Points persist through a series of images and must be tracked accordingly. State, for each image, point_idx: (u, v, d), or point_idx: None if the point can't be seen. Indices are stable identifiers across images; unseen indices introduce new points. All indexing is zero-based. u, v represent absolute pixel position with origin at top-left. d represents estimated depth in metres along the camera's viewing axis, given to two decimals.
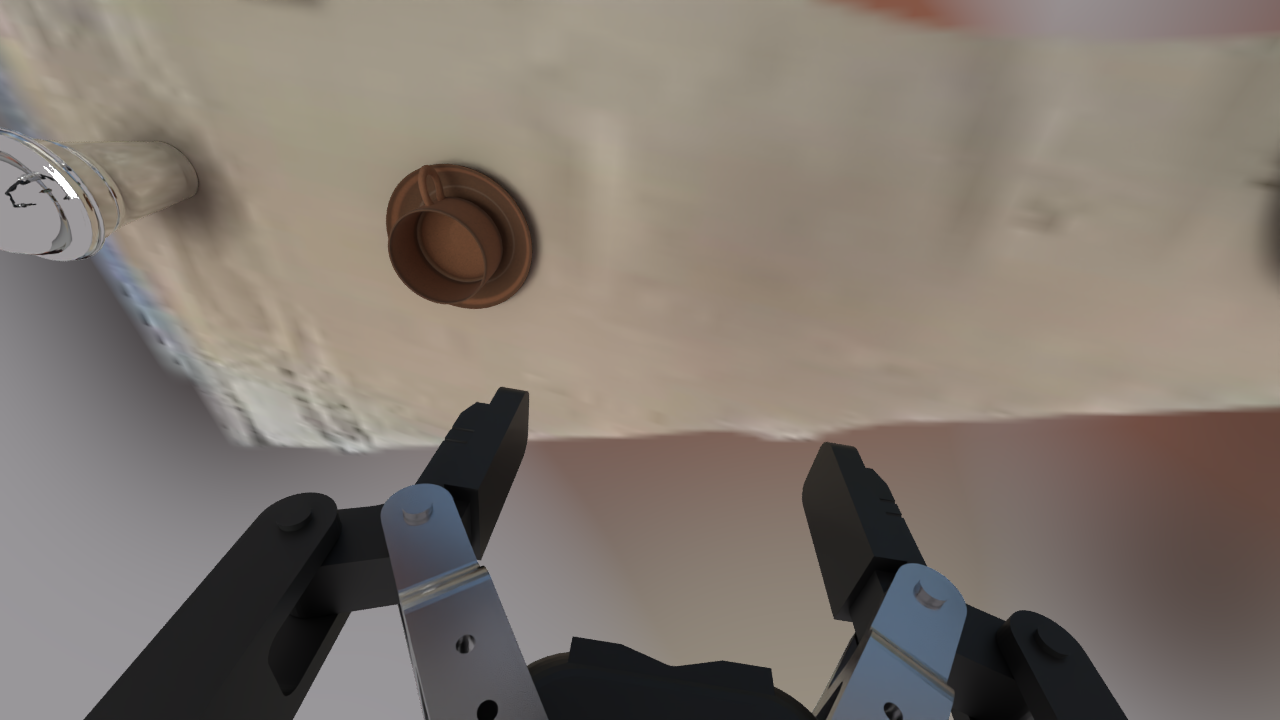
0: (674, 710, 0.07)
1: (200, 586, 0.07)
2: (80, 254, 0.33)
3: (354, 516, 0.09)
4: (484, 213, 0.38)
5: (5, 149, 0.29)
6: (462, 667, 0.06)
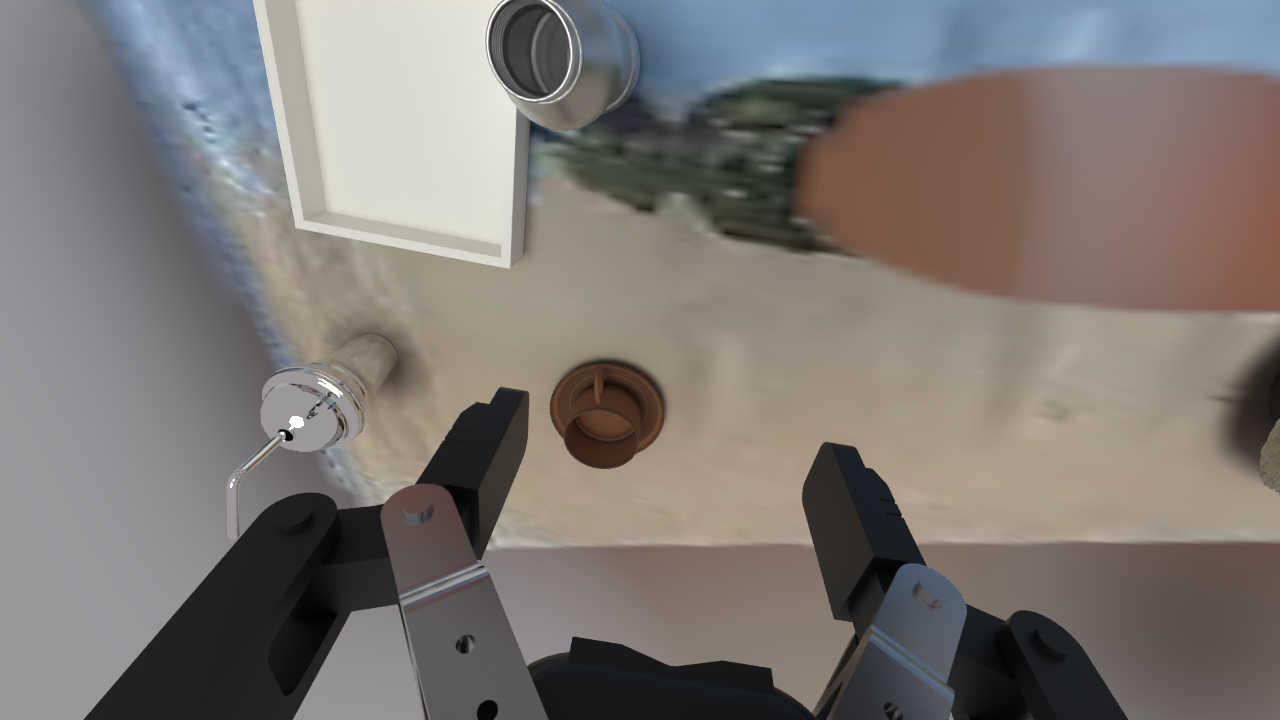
0: (674, 710, 0.07)
1: (200, 586, 0.07)
2: (342, 445, 0.44)
3: (354, 517, 0.09)
4: (631, 398, 0.49)
5: (314, 385, 0.40)
6: (462, 667, 0.06)
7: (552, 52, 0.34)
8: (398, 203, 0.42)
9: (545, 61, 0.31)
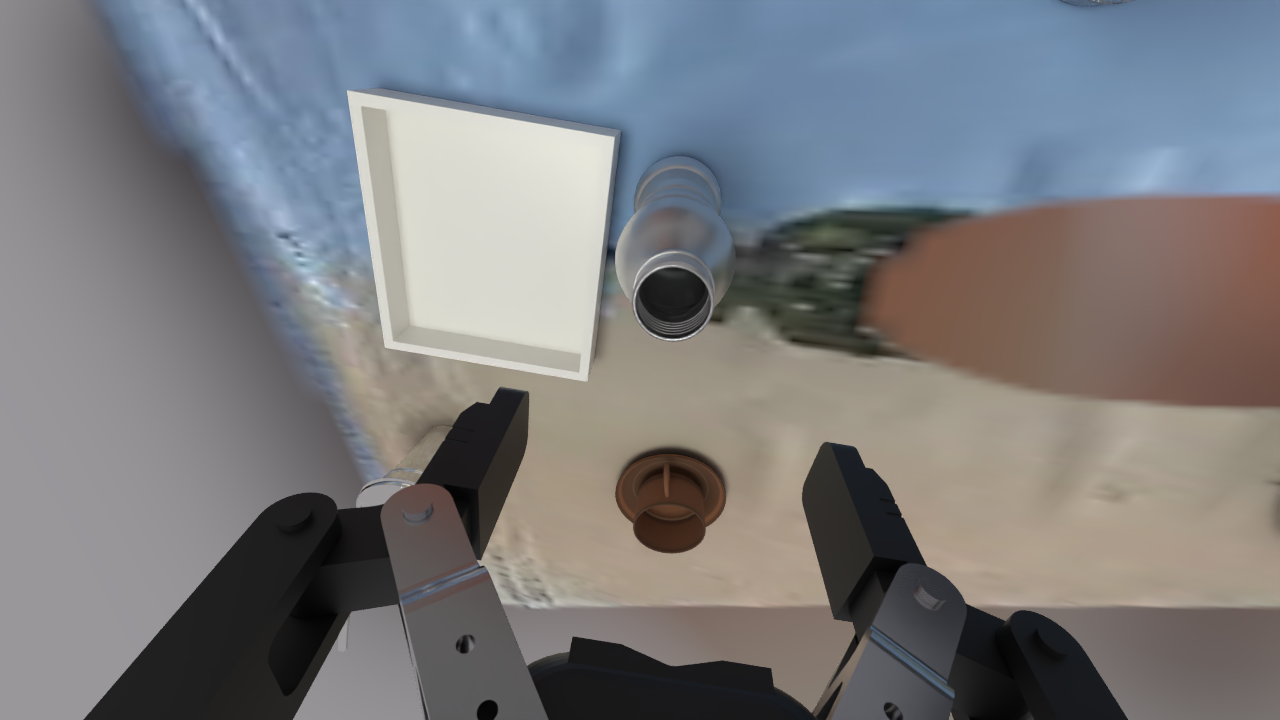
0: (674, 710, 0.07)
1: (200, 586, 0.07)
2: None
3: (354, 517, 0.09)
4: (695, 485, 0.51)
5: None
6: (462, 667, 0.06)
7: None
8: (478, 318, 0.44)
9: None
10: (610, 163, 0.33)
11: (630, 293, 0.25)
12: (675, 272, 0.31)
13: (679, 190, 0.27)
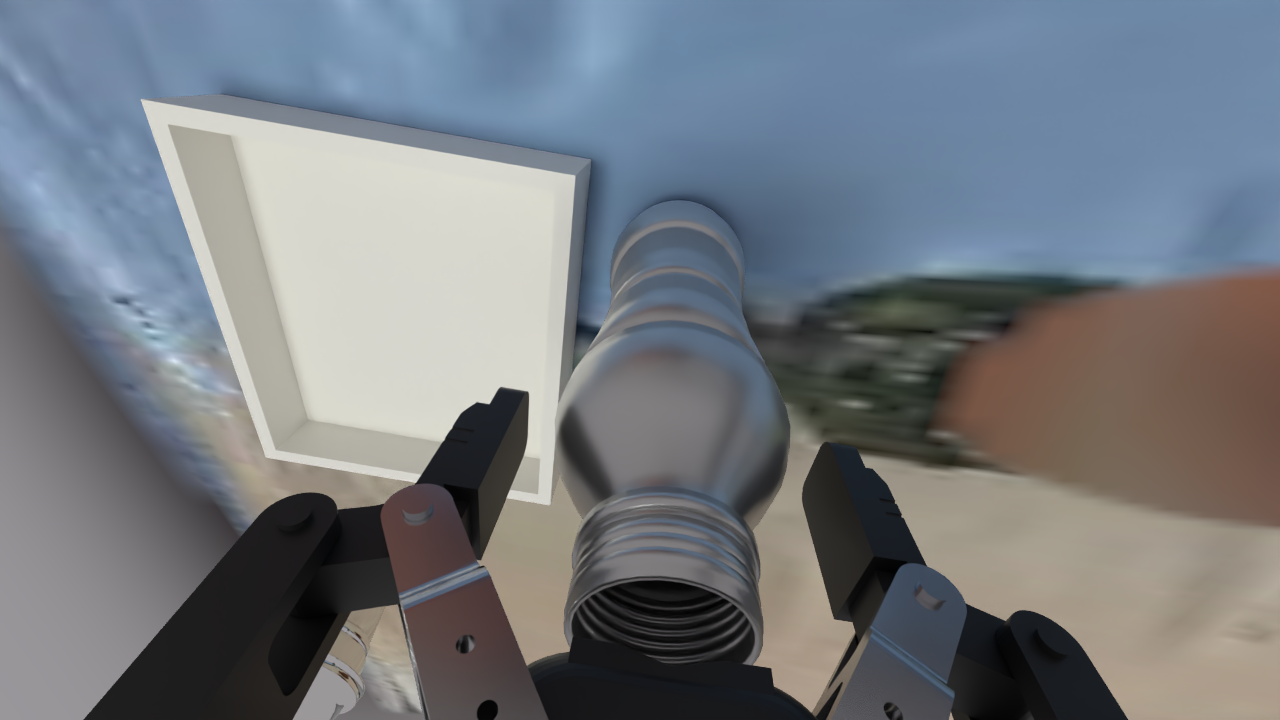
0: (674, 710, 0.07)
1: (200, 586, 0.07)
2: None
3: (354, 516, 0.09)
4: None
5: None
6: (462, 667, 0.06)
7: None
8: (399, 412, 0.31)
9: None
10: (570, 215, 0.21)
11: (580, 515, 0.12)
12: None
13: (679, 286, 0.15)
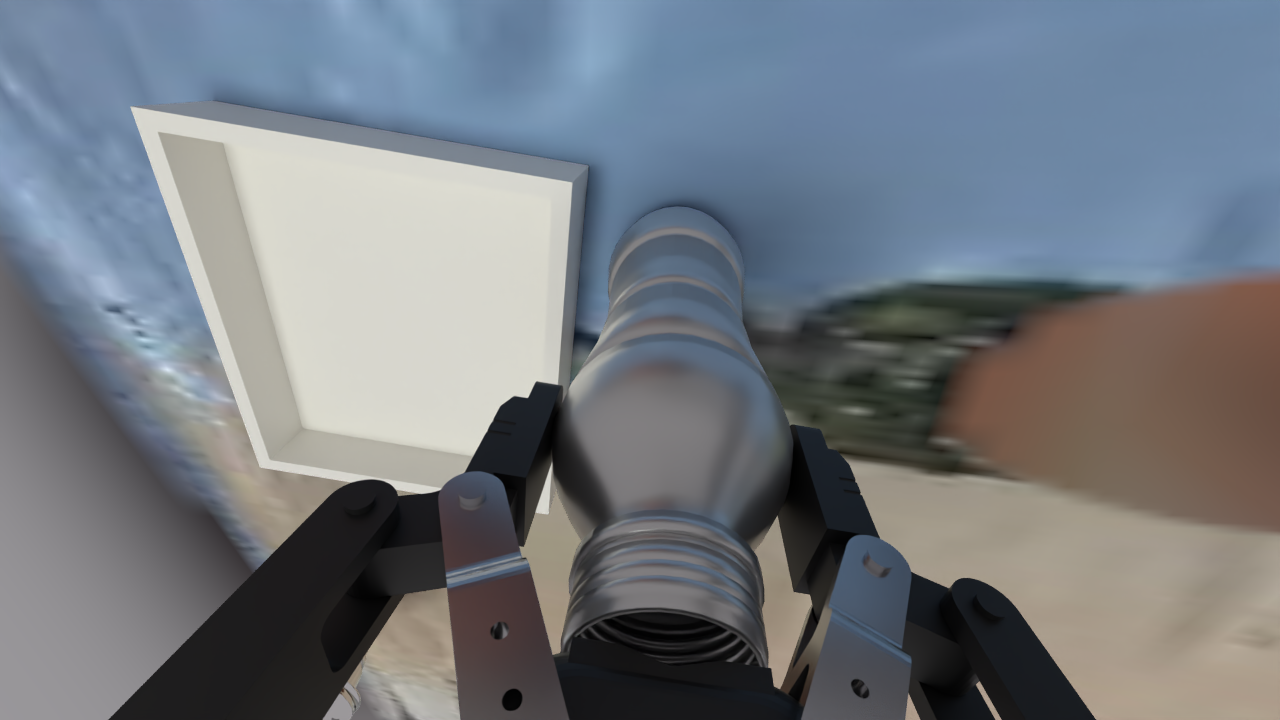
0: (674, 710, 0.07)
1: (271, 556, 0.08)
2: None
3: (410, 503, 0.09)
4: None
5: None
6: (494, 652, 0.06)
7: None
8: (396, 421, 0.31)
9: None
10: (567, 223, 0.21)
11: None
12: None
13: (678, 296, 0.15)
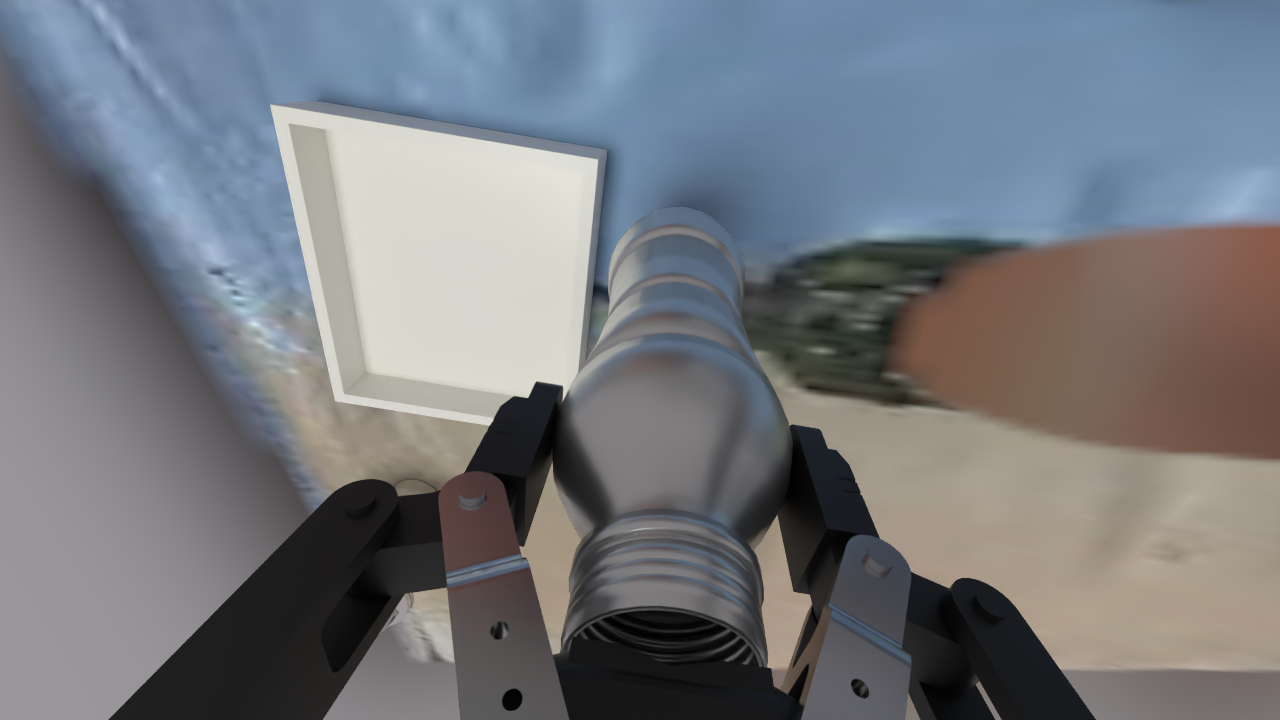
0: (674, 710, 0.07)
1: (271, 556, 0.08)
2: (389, 624, 0.40)
3: (410, 503, 0.09)
4: None
5: None
6: (494, 652, 0.06)
7: None
8: (445, 364, 0.38)
9: None
10: (593, 190, 0.27)
11: None
12: None
13: (678, 296, 0.15)
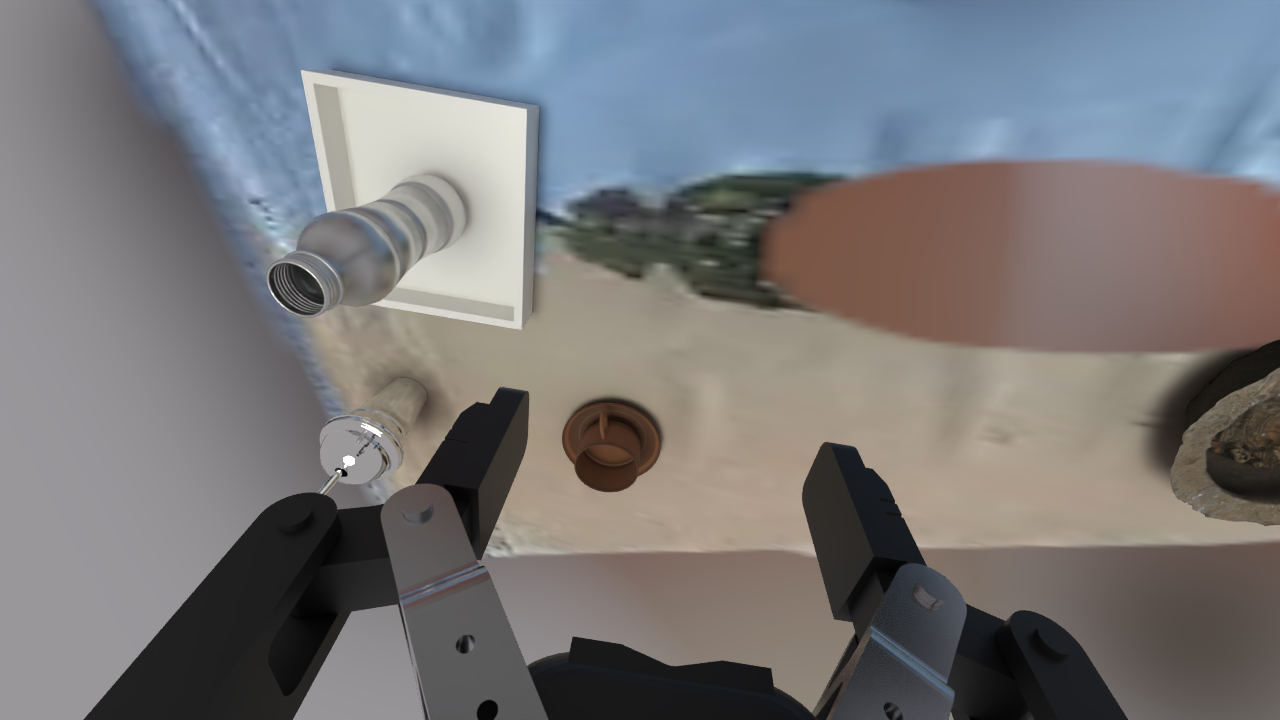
0: (674, 710, 0.07)
1: (200, 586, 0.07)
2: (385, 477, 0.52)
3: (354, 516, 0.09)
4: (632, 431, 0.57)
5: (362, 430, 0.48)
6: (462, 667, 0.06)
7: None
8: (427, 275, 0.50)
9: None
10: (525, 132, 0.39)
11: (306, 283, 0.33)
12: None
13: (370, 204, 0.35)
